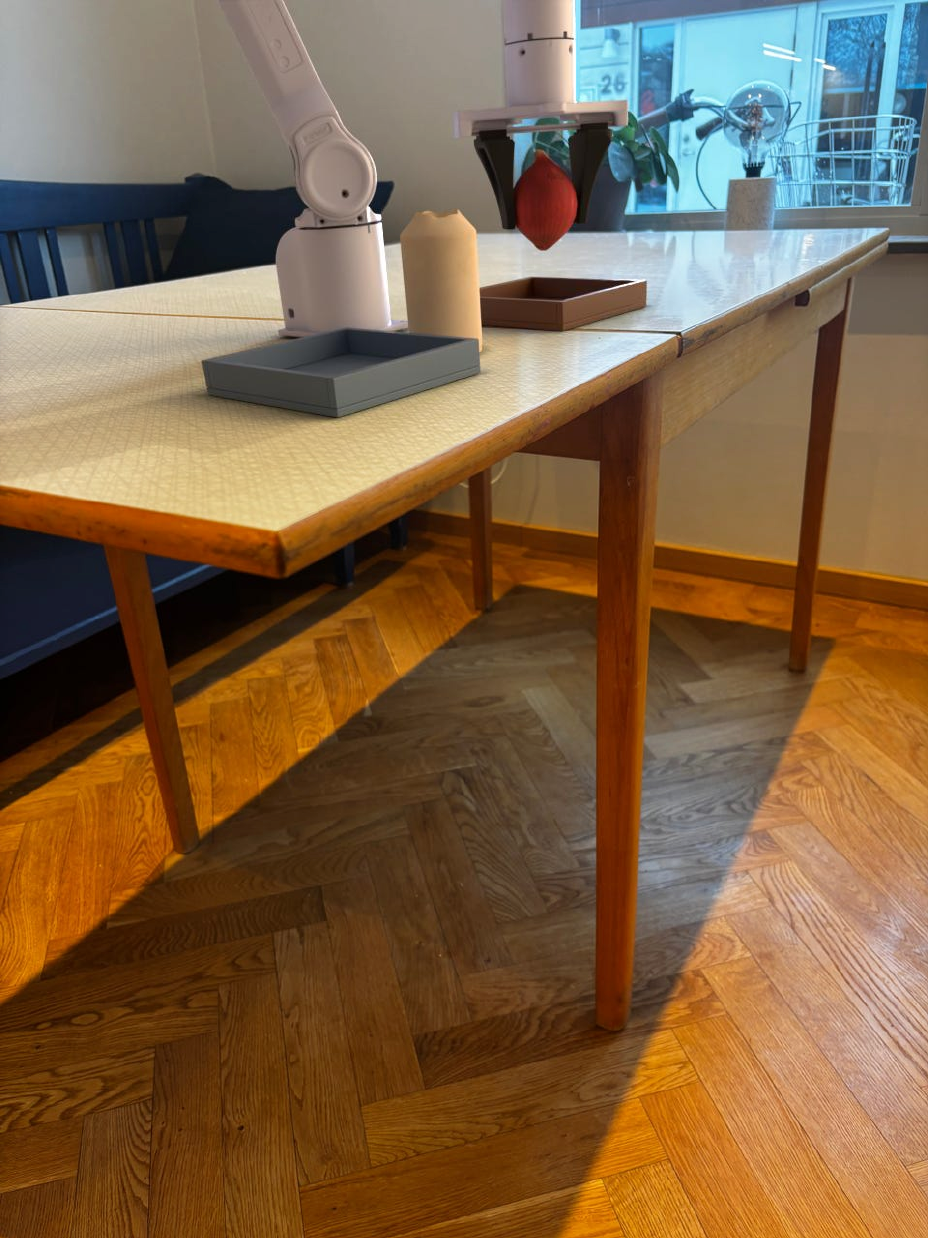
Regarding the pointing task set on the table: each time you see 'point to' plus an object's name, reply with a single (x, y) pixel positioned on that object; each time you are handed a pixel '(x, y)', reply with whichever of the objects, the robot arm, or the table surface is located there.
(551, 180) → the onion
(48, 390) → the table surface
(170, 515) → the table surface
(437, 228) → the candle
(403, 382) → the gray tray
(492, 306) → the walnut tray
